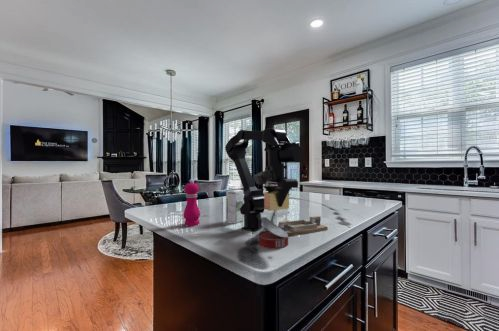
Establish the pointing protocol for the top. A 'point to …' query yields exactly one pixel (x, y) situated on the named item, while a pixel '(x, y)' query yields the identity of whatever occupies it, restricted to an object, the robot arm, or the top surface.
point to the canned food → (272, 236)
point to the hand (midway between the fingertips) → (276, 205)
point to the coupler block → (274, 201)
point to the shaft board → (302, 226)
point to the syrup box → (234, 206)
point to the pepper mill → (191, 204)
